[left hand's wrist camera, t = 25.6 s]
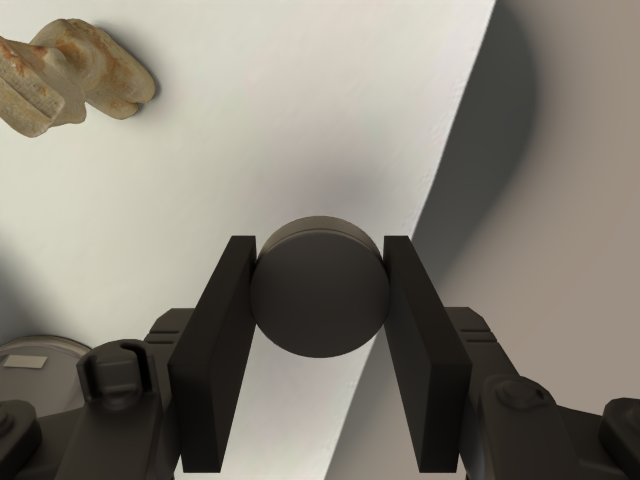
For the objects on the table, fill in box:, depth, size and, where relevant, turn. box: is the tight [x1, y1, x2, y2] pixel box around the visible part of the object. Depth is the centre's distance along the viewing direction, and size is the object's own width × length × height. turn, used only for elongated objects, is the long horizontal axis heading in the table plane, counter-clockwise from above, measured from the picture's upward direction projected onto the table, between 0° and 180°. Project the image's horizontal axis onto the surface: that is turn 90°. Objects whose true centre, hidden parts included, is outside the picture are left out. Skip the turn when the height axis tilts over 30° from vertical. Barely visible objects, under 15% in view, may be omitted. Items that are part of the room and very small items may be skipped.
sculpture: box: [0, 19, 156, 138], centre depth 30 cm, size 6×7×15 cm
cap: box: [250, 216, 390, 358], centre depth 14 cm, size 4×4×2 cm
